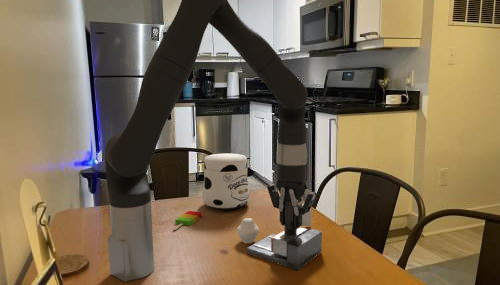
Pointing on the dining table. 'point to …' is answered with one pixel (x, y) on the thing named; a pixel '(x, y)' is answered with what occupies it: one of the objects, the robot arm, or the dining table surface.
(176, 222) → the popsicle
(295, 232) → the sliding jaw
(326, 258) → the dining table surface
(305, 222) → the white cube
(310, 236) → the jaw track
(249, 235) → the white rounded ridged piece
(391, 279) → the dining table surface
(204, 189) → the milk container
